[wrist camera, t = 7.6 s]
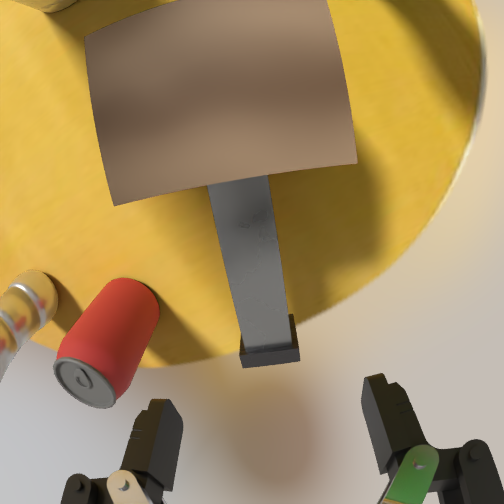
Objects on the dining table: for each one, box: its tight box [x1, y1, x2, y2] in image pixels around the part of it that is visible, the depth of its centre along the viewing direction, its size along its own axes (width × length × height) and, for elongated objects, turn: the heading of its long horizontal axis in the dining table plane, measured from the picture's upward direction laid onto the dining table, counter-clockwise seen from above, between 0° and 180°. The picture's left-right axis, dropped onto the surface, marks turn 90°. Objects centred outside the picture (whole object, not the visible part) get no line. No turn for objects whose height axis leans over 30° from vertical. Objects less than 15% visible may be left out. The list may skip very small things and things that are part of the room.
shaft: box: [207, 175, 300, 368], centre depth 16 cm, size 18×4×4 cm, turn 10°
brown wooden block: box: [84, 0, 358, 206], centre depth 15 cm, size 8×10×13 cm
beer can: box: [53, 278, 160, 409], centre depth 23 cm, size 7×7×12 cm
